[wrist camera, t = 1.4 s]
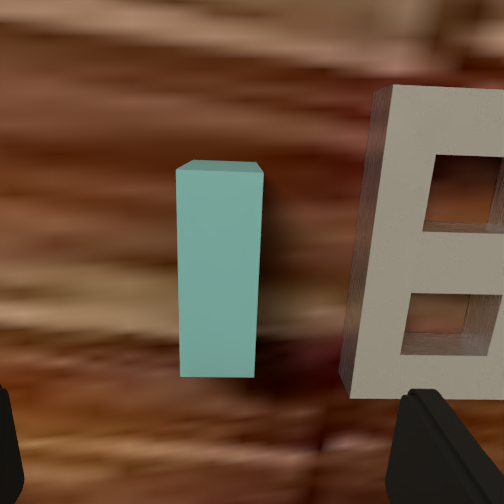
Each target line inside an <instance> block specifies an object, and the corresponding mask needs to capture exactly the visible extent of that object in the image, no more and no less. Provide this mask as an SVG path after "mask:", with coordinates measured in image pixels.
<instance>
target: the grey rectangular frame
mask: <svg viewBox="0 0 504 504" xmlns="http://www.w3.org/2000/svg"><path fill="white" fill-rule="evenodd" d="M436 154H438V155H464V156H490V157H502V160H501V165H500V169H499V173H498V178H497V182H496V186H495V191H494V195H493V199H492V204H491V208H490V213H489V217H488V221H487V223H460V222H427V221H424V218H425V213H426V207H427V202H428V196H429V191H430V185H431V179H432V174H433V168H434V163H435V157H436ZM411 293H439V294H471V295H470V299H469V304H468V308H467V312H466V317H465V321H464V325H463V330H462V334H453V333H404V330H405V325H406V319H407V313H408V308H409V302H410V297H411ZM339 374H340V377H341V379H342V382H343V384H344V386H345V389H346V391H347V393H348V396H349V398H351V399H401V397H402V396H403V395H407V394H408V391H409V390H410V389H412V388H413V389H436V390H437V391H438V392H439V393H440V394H441V395H442V397H443V398H444V399H488V400H504V90H494V89H473V88H453V87H432V86H411V85H391V86H388V87H385V88H381V89H378V90H375V91H374V93H373V101H372V109H371V117H370V125H369V133H368V141H367V149H366V157H365V165H364V173H363V181H362V189H361V197H360V205H359V213H358V221H357V229H356V237H355V245H354V253H353V261H352V269H351V277H350V285H349V293H348V301H347V309H346V317H345V325H344V333H343V341H342V349H341V357H340V365H339Z"/></svg>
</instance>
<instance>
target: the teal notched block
mask: <svg viewBox="0 0 504 504" xmlns="http://www.w3.org/2000/svg"><path fill="white" fill-rule="evenodd" d="M263 177H264V172H263V171H262V170H261V168H260V167H259V165H258V164H257V163H256V162H235V161H209V160H192V161H190V162H189V163H187V164H185V165H183V166H181V167H180V168H178V169H176V197H177V244H178V291H179V339H180V377H254V368H255V346H256V325H257V304H258V283H259V262H260V240H261V219H262V198H263Z"/></svg>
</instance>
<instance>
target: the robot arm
mask: <svg viewBox="0 0 504 504" xmlns="http://www.w3.org/2000/svg"><path fill="white" fill-rule="evenodd" d="M23 484H24V472H23V467H22V462H21V457H20V451H19V446H18V441H17V436H16V430H15V425H14V420H13V415H12V409H11V404H10V399H9V394H8V391H7V390H6V389H2V386H1V385H0V504H14V503H15V502H16V500H17V498H18V497H19V495H20V493H21V491H22V488H23ZM385 486H386V492H387V495H388V498H389V501H390V503H391V504H504V476H503V475H502V473H501V472H500V471H499V469H498V468H497V467H496V465H495V464H494V463H493V461H492V460H491V459H490V458H489V457H488V456H487V455H486V453H485V452H484V451H483V449H482V448H481V447H480V445H479V444H478V443H477V441H476V440H475V439H474V438H473V436H472V435H471V434H470V432H469V431H468V430H467V428H466V427H465V426H464V424H463V423H462V422H461V420H460V419H459V418H458V416H457V415H456V414H455V412H454V411H453V410H452V409H451V407H450V406H449V405H448V403H447V402H446V401H445V399H444V398H443V397H442V395H441V394H440V393H439V392H438V391H437V390H436V389H413V388H412V389H410V390H409V391H408V394H407V395H403V396H402V397H401V400H400V405H399V410H398V416H397V421H396V426H395V431H394V437H393V442H392V447H391V452H390V457H389V463H388V468H387V473H386V479H385Z"/></svg>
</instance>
